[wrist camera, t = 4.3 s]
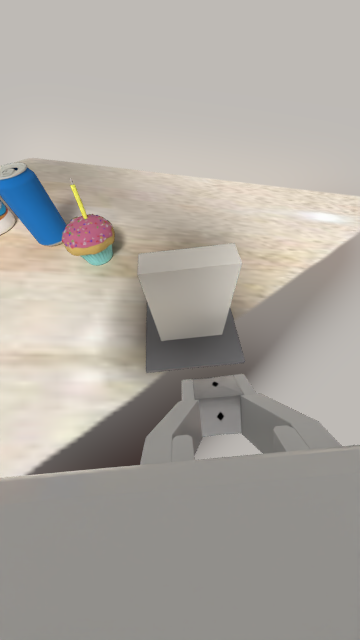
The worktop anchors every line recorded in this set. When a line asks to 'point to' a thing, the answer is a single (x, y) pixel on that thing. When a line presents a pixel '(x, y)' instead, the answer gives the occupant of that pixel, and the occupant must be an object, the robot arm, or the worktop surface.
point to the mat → (192, 349)
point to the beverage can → (31, 203)
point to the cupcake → (89, 235)
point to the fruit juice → (5, 219)
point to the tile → (190, 289)
